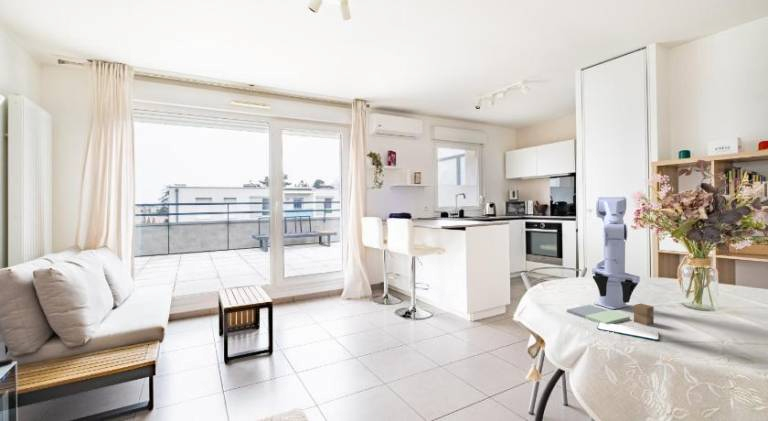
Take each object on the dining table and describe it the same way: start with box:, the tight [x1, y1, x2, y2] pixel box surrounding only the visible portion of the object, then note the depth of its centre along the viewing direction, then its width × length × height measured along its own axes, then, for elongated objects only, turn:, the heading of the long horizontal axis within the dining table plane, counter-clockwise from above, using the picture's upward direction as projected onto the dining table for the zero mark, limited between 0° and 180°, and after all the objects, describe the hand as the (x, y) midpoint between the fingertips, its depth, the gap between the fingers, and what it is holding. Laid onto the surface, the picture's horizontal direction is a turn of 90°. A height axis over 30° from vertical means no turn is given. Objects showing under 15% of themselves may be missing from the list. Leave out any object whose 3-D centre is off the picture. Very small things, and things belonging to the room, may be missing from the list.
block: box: [633, 303, 655, 326], centre depth 118 cm, size 4×4×6 cm
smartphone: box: [596, 322, 660, 342], centre depth 111 cm, size 8×1×16 cm
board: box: [566, 304, 630, 324], centre depth 125 cm, size 13×15×1 cm
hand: (614, 299), depth 115 cm, fingers open, 7 cm apart
